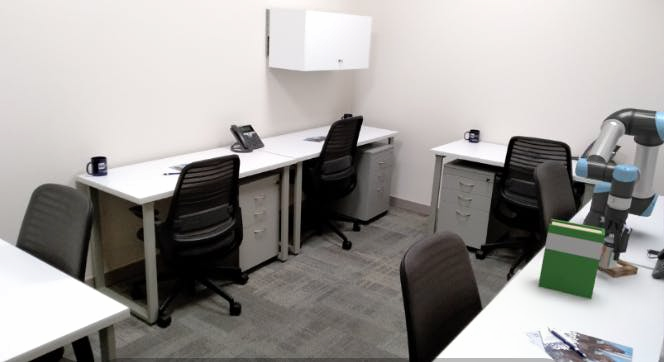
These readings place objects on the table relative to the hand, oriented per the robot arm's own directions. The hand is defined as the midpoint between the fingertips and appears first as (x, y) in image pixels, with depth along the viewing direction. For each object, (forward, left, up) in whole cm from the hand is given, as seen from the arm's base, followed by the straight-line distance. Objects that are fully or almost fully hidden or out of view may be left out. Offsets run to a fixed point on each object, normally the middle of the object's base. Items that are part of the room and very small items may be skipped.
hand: (605, 264), depth 201 cm
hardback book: (+22, +3, -6) cm, 23 cm away
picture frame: (-11, -5, -6) cm, 13 cm away
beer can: (0, 0, -2) cm, 2 cm away
